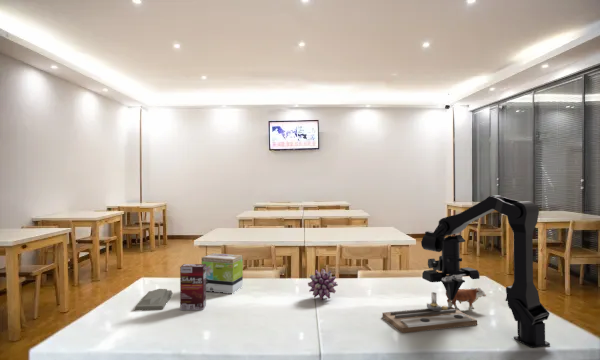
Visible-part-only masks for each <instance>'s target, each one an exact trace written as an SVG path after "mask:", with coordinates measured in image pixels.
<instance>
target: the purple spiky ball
mask: <svg viewBox="0 0 600 360" xmlns="http://www.w3.org/2000/svg"><path fill="white" fill-rule="evenodd" d="M314 273H315V275H314V274H310V275H309V276H308V277H309V279H310V280H311V281H309V282H307V285H308V287H310V289H309V293H310V292H313V293H312V296H313V297H314V298H316V297H318V296H319V299H320V300H324V297H327V298H328V299H331V293H333V294H335V293H336V292H337V290H336V289H335V288H334V287H337V286H338V285H339V284H338V283H337V281H335V279H337V276H335V275H334V276H332V275H333V273H332V270H329V271H328V272H327V271H326V270H325V269H324V268H321V271H318V269H316V270H315V272H314Z"/></svg>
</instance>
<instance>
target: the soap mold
mask: <svg viewBox="0 0 600 360" xmlns="http://www.w3.org/2000/svg"><path fill="white" fill-rule="evenodd" d="M171 294H172V295H173V291H172V290H171V289H169V290H168V289H167V288H157V289H154V290H149V291H147V293H146V294H145V295H144V296H143V297H142V299H141V300H140V301H139V302H138V303H137V305H136V306H135V308H134V311H135V310H142V311H155V310H156V311H158V310H164V309H165V307H166V306H167V304H168V302H169V300H170V299H171V297H172V295H171ZM170 296H171V297H170ZM169 298H170V299H169ZM166 303H167V304H166Z"/></svg>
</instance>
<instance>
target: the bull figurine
mask: <svg viewBox="0 0 600 360" xmlns="http://www.w3.org/2000/svg"><path fill="white" fill-rule="evenodd" d="M445 296H446V299H447V300H446V302H447V307H448V306H451V307H453V308H455V309H457V310H459V311H460V308H459V307H458V306H457V303H456V302H458V303H459V304H462V303H464V302H465V303H466V302H467V303H468V310H469V311H473V310H474V309H475V307H474V306H473V304H474V303H475V302H477V300H479V298H481V297H483V298H484V297H487V293H485V290H484V289H483V288H482V287H481V286H479V287H470V288H463V289H462V288H459V290H458V291H457V293H456V295H455V297H454V299H453V300H450V299H449V297H448V294H447V292H446V291H445Z"/></svg>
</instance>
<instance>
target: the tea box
mask: <svg viewBox="0 0 600 360" xmlns="http://www.w3.org/2000/svg"><path fill="white" fill-rule="evenodd" d="M243 261H244V260H243V254H233V253H232V254H231V253H216V252H215V253H214V252H213V253H210V254H208V255H205V256H202V257H201V264H206V292H212V291H214V292H215V293H220V292H223V293H222V294H228V293H233V294H235V293H236V292H238V291H239V290H238V289H239V288H241V287H242V286H244V285H243V283H244V282H243V280H244V278H243V277H244V276H243V274H244V272H243V271H244V270H243V268H244V267H243V265H244V264H243ZM242 288H243V287H242ZM242 288H241V289H242ZM237 290H238V291H237ZM235 291H236V292H235ZM234 292H235V293H234Z"/></svg>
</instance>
